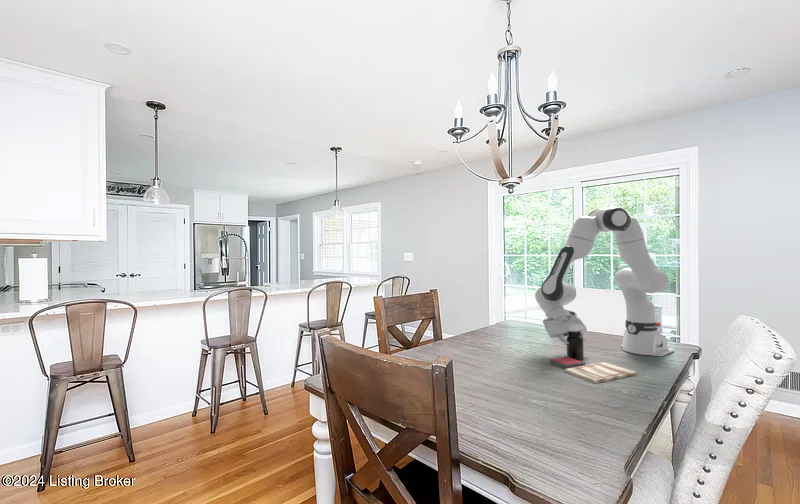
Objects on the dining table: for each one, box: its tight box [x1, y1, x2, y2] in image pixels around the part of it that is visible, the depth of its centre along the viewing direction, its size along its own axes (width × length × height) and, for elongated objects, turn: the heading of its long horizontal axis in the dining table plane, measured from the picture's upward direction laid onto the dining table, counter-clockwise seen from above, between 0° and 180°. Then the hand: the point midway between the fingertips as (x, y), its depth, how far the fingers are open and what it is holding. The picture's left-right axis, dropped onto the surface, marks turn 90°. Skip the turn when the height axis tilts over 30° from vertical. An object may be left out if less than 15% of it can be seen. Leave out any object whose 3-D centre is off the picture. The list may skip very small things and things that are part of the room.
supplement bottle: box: [565, 330, 585, 361], centre depth 164 cm, size 7×7×12 cm
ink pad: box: [549, 356, 586, 370], centre depth 154 cm, size 10×9×2 cm
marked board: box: [564, 361, 638, 384], centre depth 143 cm, size 22×14×1 cm, turn 113°
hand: (575, 343), depth 163 cm, fingers open, 8 cm apart
